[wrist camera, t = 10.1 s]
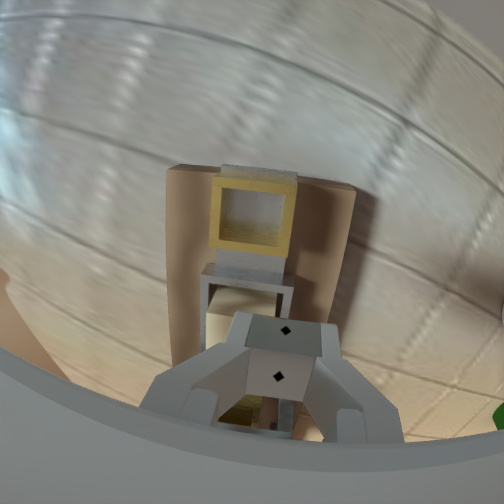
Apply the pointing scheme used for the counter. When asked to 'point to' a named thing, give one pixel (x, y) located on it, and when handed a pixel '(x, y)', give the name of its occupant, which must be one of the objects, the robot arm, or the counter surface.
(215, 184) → the sled
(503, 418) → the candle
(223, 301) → the maple block
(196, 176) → the tunnel deck
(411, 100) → the counter surface
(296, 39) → the counter surface
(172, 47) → the counter surface
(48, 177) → the counter surface
